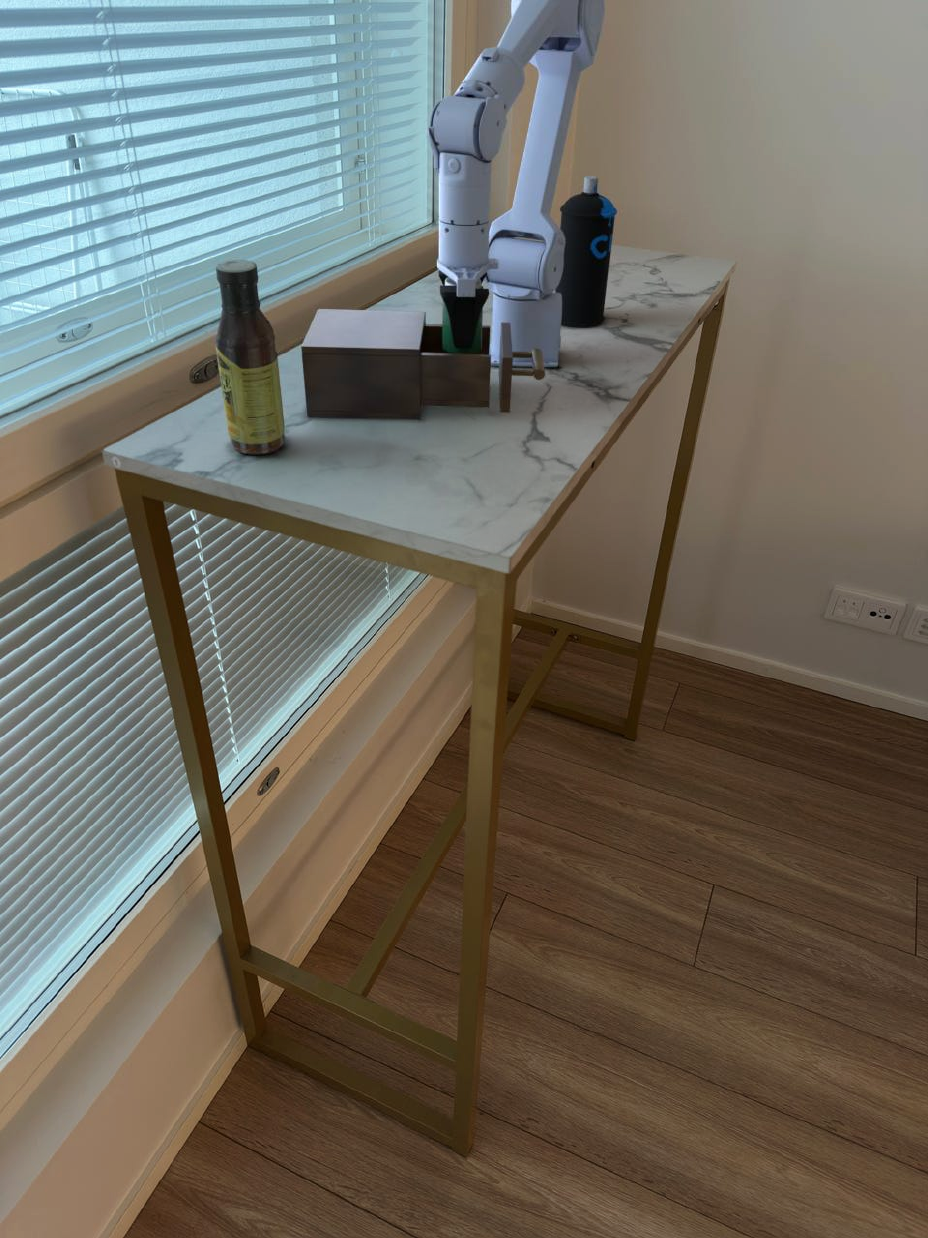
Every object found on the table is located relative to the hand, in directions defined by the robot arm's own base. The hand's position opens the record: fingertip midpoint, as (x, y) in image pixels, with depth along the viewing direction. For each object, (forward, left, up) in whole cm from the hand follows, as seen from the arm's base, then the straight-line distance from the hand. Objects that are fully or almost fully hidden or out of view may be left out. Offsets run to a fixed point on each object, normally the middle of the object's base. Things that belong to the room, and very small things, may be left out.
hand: (462, 339), depth 109 cm
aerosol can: (-17, -32, -8) cm, 37 cm away
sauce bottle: (+23, +15, -8) cm, 28 cm away
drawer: (-2, 0, -7) cm, 7 cm away
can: (0, 0, -1) cm, 1 cm away
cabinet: (+12, 0, -8) cm, 14 cm away
